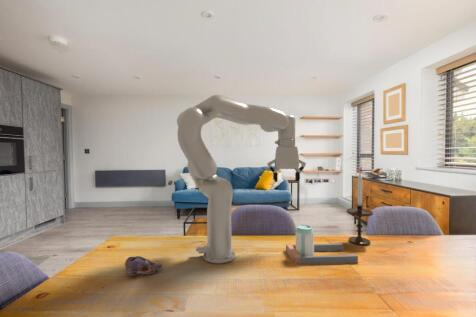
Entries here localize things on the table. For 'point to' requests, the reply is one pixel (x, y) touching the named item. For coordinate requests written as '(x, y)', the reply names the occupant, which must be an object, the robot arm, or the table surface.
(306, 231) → the can
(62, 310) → the table surface
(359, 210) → the candlestick
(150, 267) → the skull
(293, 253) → the track
